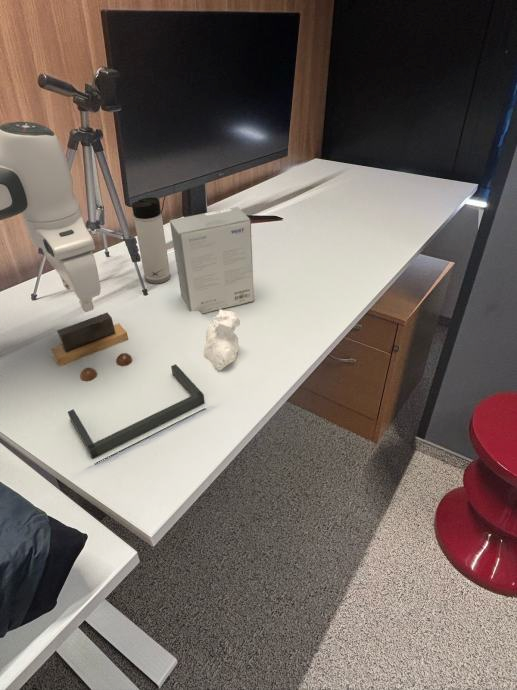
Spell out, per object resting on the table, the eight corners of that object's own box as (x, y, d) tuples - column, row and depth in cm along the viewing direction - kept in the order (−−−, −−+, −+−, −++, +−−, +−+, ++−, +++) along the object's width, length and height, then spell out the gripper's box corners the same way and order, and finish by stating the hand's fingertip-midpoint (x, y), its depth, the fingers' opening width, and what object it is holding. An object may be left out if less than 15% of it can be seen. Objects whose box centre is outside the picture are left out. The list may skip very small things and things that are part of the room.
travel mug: (161, 286, 116) (148, 207, 104) (139, 280, 119) (124, 201, 106) (176, 275, 120) (166, 197, 108) (155, 269, 123) (143, 192, 111)
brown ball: (121, 374, 91) (118, 362, 89) (115, 365, 93) (112, 353, 91) (136, 367, 92) (133, 355, 91) (129, 359, 94) (127, 347, 93)
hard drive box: (242, 286, 116) (239, 206, 103) (255, 301, 110) (252, 219, 98) (180, 300, 111) (168, 218, 99) (189, 317, 105) (178, 233, 93)
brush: (61, 372, 92) (51, 342, 87) (55, 361, 94) (44, 331, 90) (129, 344, 98) (123, 315, 94) (121, 335, 101) (115, 306, 96)
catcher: (94, 464, 74) (89, 450, 72) (72, 426, 81) (67, 411, 79) (205, 409, 83) (203, 394, 81) (178, 378, 90) (175, 363, 88)
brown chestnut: (85, 389, 88) (81, 377, 86) (80, 380, 90) (76, 368, 88) (101, 382, 89) (97, 370, 87) (95, 374, 91) (91, 362, 89)
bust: (230, 385, 91) (265, 342, 87) (197, 373, 87) (231, 327, 83) (218, 348, 100) (248, 307, 96) (187, 335, 96) (217, 291, 92)
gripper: (20, 213, 85) (44, 280, 94) (57, 255, 72) (81, 329, 81) (56, 204, 88) (76, 270, 97) (97, 243, 75) (116, 316, 83)
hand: (78, 298), depth 88 cm, fingers open, 8 cm apart
